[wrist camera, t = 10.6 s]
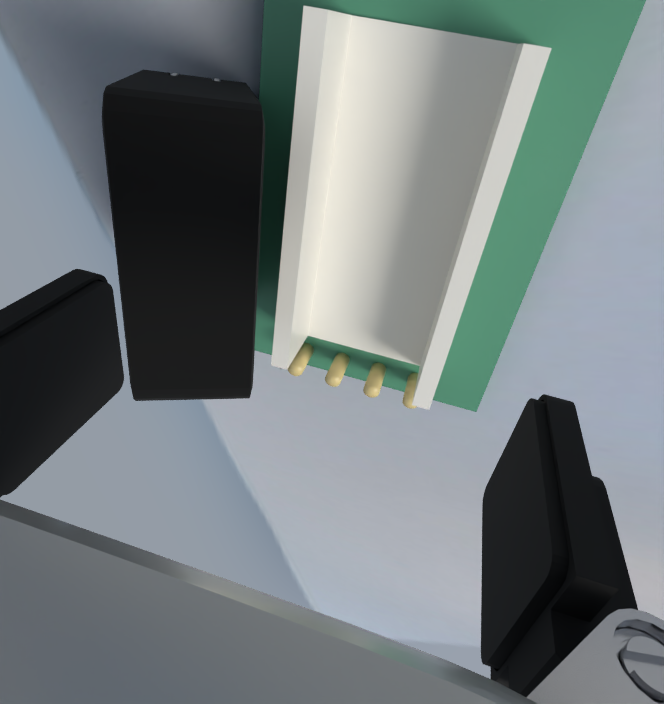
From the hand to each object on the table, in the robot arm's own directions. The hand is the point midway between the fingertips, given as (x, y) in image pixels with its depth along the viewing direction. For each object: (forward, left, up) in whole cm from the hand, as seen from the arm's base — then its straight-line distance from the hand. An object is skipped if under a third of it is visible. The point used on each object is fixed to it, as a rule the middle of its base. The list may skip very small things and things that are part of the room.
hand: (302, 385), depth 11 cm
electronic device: (+1, -5, -4) cm, 6 cm away
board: (0, 0, -14) cm, 14 cm away
